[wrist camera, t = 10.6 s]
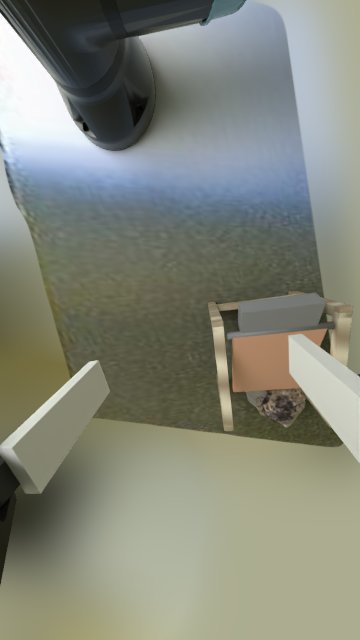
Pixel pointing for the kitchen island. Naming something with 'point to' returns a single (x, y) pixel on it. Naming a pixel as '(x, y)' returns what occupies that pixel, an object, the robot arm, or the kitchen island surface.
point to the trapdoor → (272, 339)
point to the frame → (335, 309)
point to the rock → (278, 404)
